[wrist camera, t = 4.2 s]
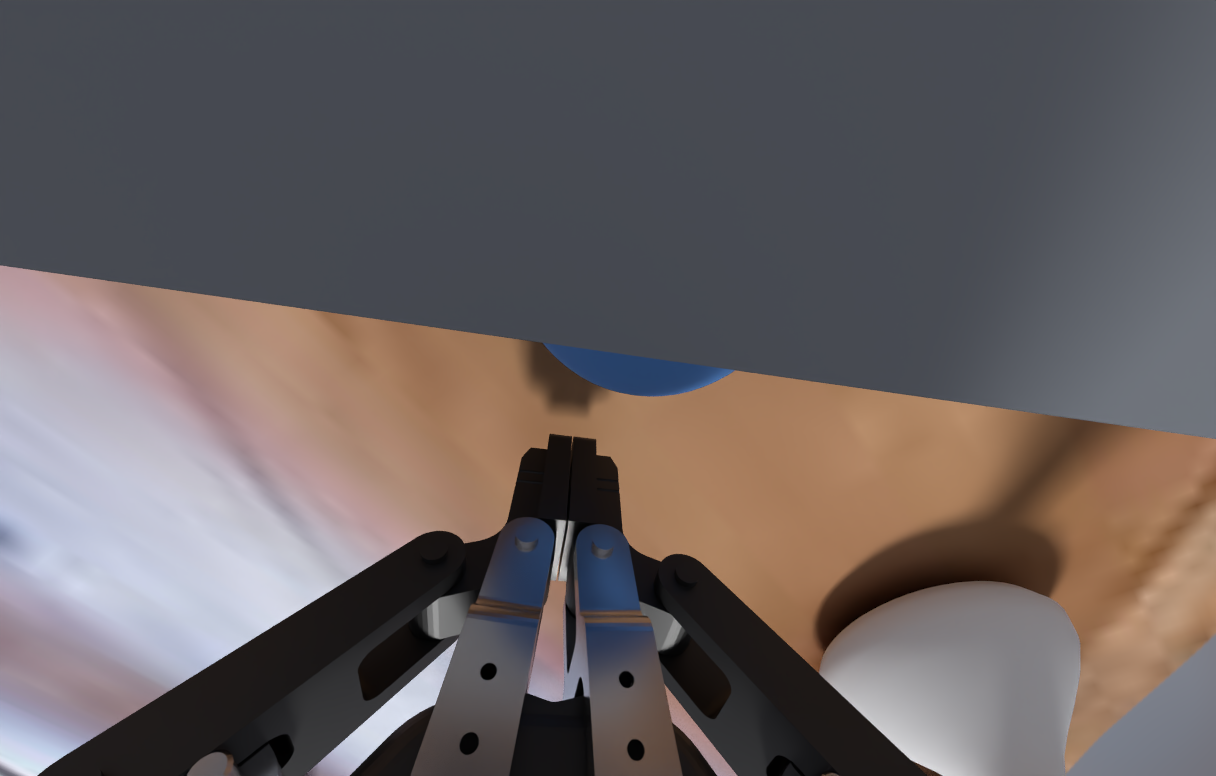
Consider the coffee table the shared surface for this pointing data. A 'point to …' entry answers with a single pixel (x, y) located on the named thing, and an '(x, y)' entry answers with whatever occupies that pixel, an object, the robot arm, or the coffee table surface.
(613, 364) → the ball
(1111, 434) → the coffee table surface
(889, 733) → the flower in vase
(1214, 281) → the gray arch
